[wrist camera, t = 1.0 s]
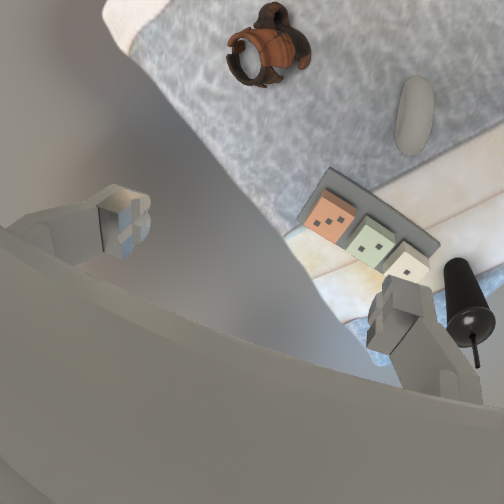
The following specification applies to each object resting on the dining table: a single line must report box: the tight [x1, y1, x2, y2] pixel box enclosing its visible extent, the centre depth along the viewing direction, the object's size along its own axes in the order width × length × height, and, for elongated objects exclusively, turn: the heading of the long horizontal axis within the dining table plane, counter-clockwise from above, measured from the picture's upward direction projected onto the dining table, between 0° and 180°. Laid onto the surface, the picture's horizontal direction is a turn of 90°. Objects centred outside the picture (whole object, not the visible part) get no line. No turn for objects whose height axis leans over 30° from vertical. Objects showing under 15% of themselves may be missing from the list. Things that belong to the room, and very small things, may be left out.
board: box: [297, 167, 440, 274], centre depth 45 cm, size 21×10×2 cm, turn 65°
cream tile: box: [383, 241, 430, 283], centre depth 43 cm, size 5×5×3 cm
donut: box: [395, 76, 435, 156], centre depth 31 cm, size 10×4×10 cm, turn 176°
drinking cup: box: [444, 258, 496, 369], centre depth 36 cm, size 8×8×20 cm
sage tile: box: [345, 215, 395, 269], centre depth 43 cm, size 5×5×3 cm
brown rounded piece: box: [226, 2, 311, 88], centre depth 33 cm, size 12×9×8 cm
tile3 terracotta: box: [304, 189, 356, 244], centre depth 43 cm, size 5×5×3 cm
